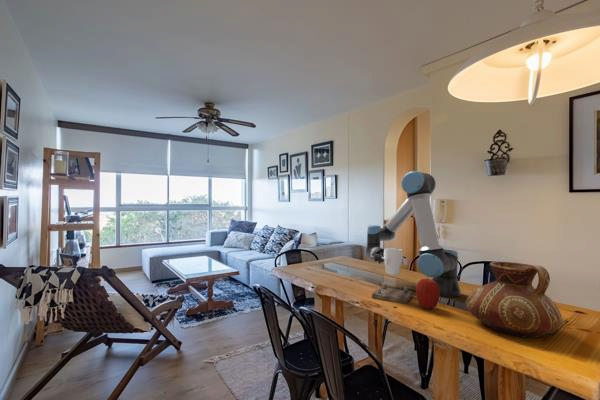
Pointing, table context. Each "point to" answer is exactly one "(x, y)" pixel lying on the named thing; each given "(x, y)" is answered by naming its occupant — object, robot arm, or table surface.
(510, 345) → the table surface
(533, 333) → the jug
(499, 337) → the table surface
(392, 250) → the cup
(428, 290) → the apple
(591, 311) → the table surface
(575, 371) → the table surface
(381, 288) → the peg stand
